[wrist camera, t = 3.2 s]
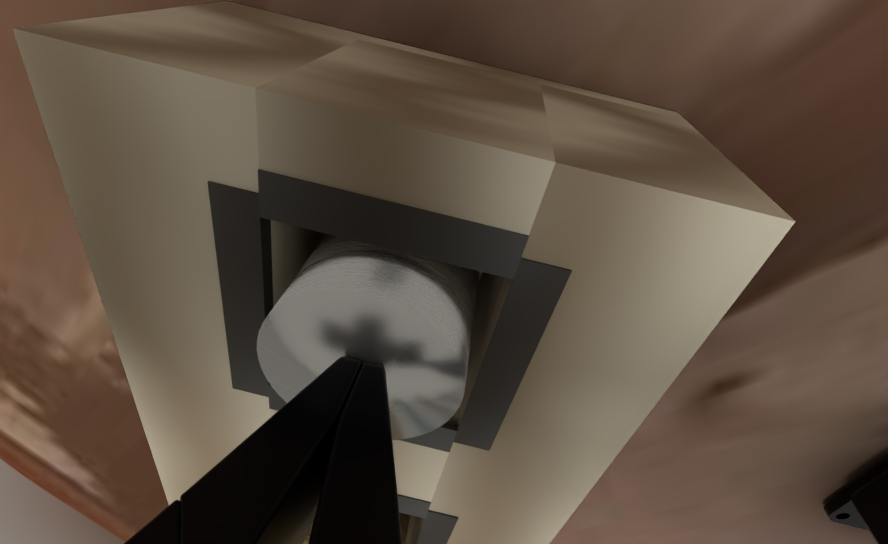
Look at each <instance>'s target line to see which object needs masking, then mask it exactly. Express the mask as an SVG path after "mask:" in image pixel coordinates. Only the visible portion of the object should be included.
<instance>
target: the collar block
mask: <svg viewBox="0 0 888 544" xmlns="http://www.w3.org/2000/svg"><path fill="white" fill-rule="evenodd" d="M12 29H13V32H14V35H15V38H16V41H17V44H18V47H19V50H20V53H21V56H22V59H23V62H24V66H25V69H26V72H27V75H28V78H29V81H30V84H31V87H32V90H33V93H34V96H35V99H36V102H37V105H38V108H39V111H40V114H41V117H42V120H43V123H44V126H45V129H46V132H47V135H48V138H49V142H50V145H51V148H52V151H53V154H54V157H55V160H56V163H57V166H58V169H59V172H60V175H61V178H62V181H63V184H64V187H65V190H66V193H67V196H68V199H69V202H70V205H71V208H72V211H73V214H74V218H75V221H76V224H77V227H78V230H79V233H80V236H81V239H82V242H83V245H84V248H85V251H86V254H87V257H88V260H89V263H90V266H91V269H92V272H93V275H94V278H95V281H96V284H97V287H98V290H99V294H100V297H101V300H102V303H103V306H104V309H105V312H106V315H107V318H108V321H109V324H110V327H111V330H112V333H113V336H114V339H115V342H116V345H117V348H118V351H119V354H120V357H121V360H122V363H123V366H124V370H125V373H126V376H127V379H128V382H129V385H130V388H131V391H132V394H133V397H134V400H135V403H136V406H137V409H138V412H139V415H140V418H141V421H142V424H143V427H144V430H145V433H146V436H147V439H148V442H149V446H150V449H151V452H152V455H153V458H154V461H155V464H156V467H157V470H158V473H159V476H160V479H161V482H162V485H163V488H164V491H165V494H166V497H167V500H168V503H169V505H170V504H171V503H172V502H174V501H175V500H179V501H180V497H181V495H182V494H183V493H184V492H185V491H187V490H188V489H189V488H190V487H191V486H192V485H194V484H195V483H196V482H197V481H198V480H199V479H200V478H202V477H203V476H204V475H205V474H206V473H207V472H208V471H210V470H211V469H212V468H213V467H214V466H215V465H217V464H218V463H219V462H220V461H221V460H222V459H223V458H225V457H226V456H227V455H228V454H229V453H230V452H231V451H233V450H234V449H235V448H236V447H237V446H238V445H240V444H241V443H242V442H243V441H244V440H245V439H246V438H248V437H249V436H250V435H251V434H252V433H253V432H254V431H256V430H257V429H258V428H259V427H260V426H261V425H263V424H264V423H265V422H266V421H267V420H268V419H269V418H271V417H272V416H273V415H274V414H275V413H276V412H278V411H279V410H280V409H281V408H282V407H283V406H284V405H286V404H287V402H285V401H284V400H283V399H282V398H281V397H280V396H279V395H278V393H277V392H276V391H275V390H274V389H273V388H272V386H271V385H270V383H269V382H268V380H267V379H266V377H265V375H264V373H263V371H262V369H261V366H260V363H259V360H258V354H257V338H258V334H259V330H260V328H261V326H262V323H263V321H264V320H265V319H266V317H267V316H268V314H269V313H270V312H271V310H272V309H273V307H274V306H275V305H276V303H277V302H278V300H279V299H280V298H281V296H282V295H283V293H284V292H285V291H286V289H287V288H288V286H289V285H290V283H291V282H292V281H293V279H294V278H295V276H296V275H297V274H298V272H299V271H300V269H301V268H302V267H303V265H304V264H305V262H306V261H307V260H308V258H309V257H310V255H311V254H312V252H313V251H314V250H315V248H316V247H317V245H318V244H319V243H320V241H321V240H322V238H323V237H324V236H325V234H330V235H334V236H338V237H342V238H346V239H350V240H354V241H358V242H362V243H366V244H371V245H375V246H379V247H383V248H387V249H391V250H395V251H399V252H403V253H407V254H411V255H415V256H419V257H423V258H428V259H432V260H436V261H440V262H444V263H448V264H452V265H456V266H460V267H464V268H468V269H472V270H476V271H479V279H478V287H477V295H476V303H475V312H474V320H473V328H472V336H471V344H470V352H469V360H468V368H467V377H466V385H465V392H464V396H463V400H462V402H461V404H460V406H459V408H458V410H457V411H456V412H455V414H454V415H453V416H452V417H451V418H450V419H449V420H448V421H447V422H446V423H444V424H443V425H442V426H440V427H439V428H437V429H435V430H433V431H431V432H429V433H426V434H423V435H421V436H417V437H413V438H408V439H400V440H392V442H393V452H394V463H395V473H396V483H397V493H398V503H399V513H404V514H408V515H411V516H410V521H409V526H408V532H407V537H406V542H405V544H550V542H551V541H552V540H553V538H554V537H555V536H556V534H557V533H558V532H559V531H560V529H561V528H562V527H563V525H564V524H565V523H566V521H567V520H568V519H569V517H570V516H571V515H572V514H573V512H574V511H575V510H576V508H577V507H578V506H579V504H580V503H581V502H582V500H583V499H584V498H585V497H586V495H587V494H588V493H589V491H590V490H591V489H592V487H593V486H594V485H595V483H596V482H597V481H598V480H599V478H600V477H601V476H602V474H603V473H604V472H605V470H606V469H607V468H608V466H609V465H610V464H611V463H612V461H613V460H614V459H615V457H616V456H617V455H618V453H619V452H620V451H621V449H622V448H623V447H624V446H625V444H626V443H627V442H628V440H629V439H630V438H631V436H632V435H633V434H634V432H635V431H636V430H637V429H638V427H639V426H640V425H641V423H642V422H643V421H644V419H645V418H646V417H647V415H648V414H649V413H650V412H651V410H652V409H653V408H654V406H655V405H656V404H657V402H658V401H659V400H660V398H661V397H662V396H663V394H664V393H665V392H666V391H667V389H668V388H669V387H670V385H671V384H672V383H673V381H674V380H675V379H676V377H677V376H678V375H679V374H680V372H681V371H682V370H683V368H684V367H685V366H686V364H687V363H688V362H689V360H690V359H691V358H692V357H693V355H694V354H695V353H696V351H697V350H698V349H699V347H700V346H701V345H702V343H703V342H704V341H705V340H706V338H707V337H708V336H709V334H710V333H711V332H712V330H713V329H714V328H715V326H716V325H717V324H718V323H719V321H720V320H721V319H722V317H723V316H724V315H725V313H726V312H727V311H728V309H729V308H730V307H731V306H732V304H733V303H734V302H735V300H736V299H737V298H738V296H739V295H740V294H741V292H742V291H743V290H744V289H745V287H746V286H747V285H748V283H749V282H750V281H751V279H752V278H753V277H754V275H755V274H756V273H757V272H758V270H759V269H760V268H761V266H762V265H763V264H764V262H765V261H766V260H767V258H768V257H769V256H770V255H771V253H772V252H773V251H774V249H775V248H776V247H777V245H778V244H779V243H780V241H781V240H782V239H783V238H784V236H785V235H786V234H787V232H788V231H789V230H790V228H791V227H792V226H793V224H794V223H795V221H794V220H793V219H792V218H791V217H790V216H789V215H788V214H787V213H786V212H785V211H784V210H782V209H781V208H780V207H779V206H778V205H777V204H776V203H775V202H774V201H773V200H772V199H771V198H770V197H768V196H767V195H766V194H765V193H764V192H763V191H762V190H761V189H760V188H759V187H758V186H757V185H755V184H754V183H753V182H752V181H751V180H750V179H749V178H748V177H747V176H746V175H745V174H744V173H743V172H741V171H740V170H739V169H738V168H737V167H736V166H735V165H734V164H733V163H732V162H731V161H730V160H728V159H727V158H726V157H725V156H724V155H723V154H722V153H721V152H720V151H719V150H718V149H717V148H715V147H714V146H713V145H712V144H711V143H710V142H709V141H708V140H707V139H706V138H705V137H704V136H703V135H701V134H700V133H699V132H698V131H697V130H696V129H695V128H694V127H693V126H692V125H691V124H690V123H688V122H687V121H686V120H685V119H684V118H683V117H682V116H681V115H680V114H679V113H677V112H673V111H669V110H665V109H661V108H657V107H653V106H649V105H645V104H641V103H637V102H633V101H629V100H625V99H621V98H617V97H613V96H609V95H605V94H601V93H597V92H593V91H589V90H585V89H581V88H577V87H573V86H569V85H565V84H561V83H557V82H552V81H548V80H544V79H540V78H536V77H532V76H528V75H524V74H520V73H516V72H512V71H508V70H504V69H500V68H496V67H492V66H488V65H484V64H480V63H476V62H472V61H468V60H464V59H460V58H456V57H452V56H448V55H444V54H440V53H436V52H432V51H428V50H423V49H419V48H415V47H411V46H407V45H403V44H399V43H395V42H391V41H387V40H383V39H379V38H375V37H371V36H367V35H363V34H359V33H355V32H351V31H347V30H343V29H339V28H335V27H331V26H327V25H323V24H319V23H315V22H311V21H307V20H303V19H299V18H294V17H290V16H286V15H282V14H278V13H274V12H270V11H266V10H262V9H258V8H254V7H250V6H246V5H242V4H238V3H234V2H230V1H222V2H214V3H206V4H198V5H190V6H182V7H174V8H167V9H159V10H151V11H143V12H135V13H127V14H119V15H111V16H103V17H95V18H88V19H80V20H72V21H64V22H56V23H48V24H40V25H32V26H24V27H17V28H12Z"/></svg>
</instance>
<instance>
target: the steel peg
mask: <svg viewBox="0 0 888 544" xmlns="http://www.w3.org/2000/svg"><path fill="white" fill-rule="evenodd" d="M478 279H479V271H476V270H472V269H468V268H464V267H460V266H456V265H452V264H448V263H444V262H440V261H436V260H432V259H428V258H423V257H419V256H415V255H411V254H407V253H403V252H399V251H395V250H391V249H387V248H383V247H379V246H375V245H371V244H366V243H362V242H358V241H354V240H350V239H346V238H342V237H338V236H334V235H330V234H325V236H324V237H323V238H322V240H321V241H320V243H319V244H318V245H317V247H316V248H315V250H314V251H313V252H312V254H311V255H310V257H309V258H308V260H307V261H306V262H305V264H304V265H303V267H302V268H301V269H300V271H299V272H298V274H297V275H296V276H295V278H294V279H293V281H292V282H291V283H290V285H289V286H288V288H287V289H286V291H285V292H284V293H283V295H282V296H281V298H280V299H279V300H278V302H277V303H276V305H275V306H274V307H273V309H272V310H271V312H270V313H269V314H268V316H267V317H266V319H265V320H264V321H263V323H262V326H261V328H260V330H259V334H258V338H257V354H258V360H259V363H260V366H261V369H262V371H263V373H264V375H265V377H266V379H267V380H268V382H269V383H270V385H271V386H272V388H273V389H274V390H275V391H276V392H277V393H278V395H279V396H280V397H281V398H282V399H283V400H284V401H285V402H287V403H288V402H289V401H290V400H291V399H292V398H294V397H295V396H296V395H297V394H298V393H299V392H301V391H302V390H303V389H304V388H305V387H306V386H307V385H309V384H310V383H311V382H312V381H313V380H314V379H315V378H317V377H318V376H319V375H320V374H321V373H322V372H324V371H325V370H326V369H327V368H328V367H329V366H330V365H332V364H333V363H334V362H335V361H336V360H337V359H339V358H340V357H343V356H346V357H350V358H354V359H358V360H361V361H362V363H364V362H370V363H375V364H379V365H382V366H384V368H385V372H386V382H387V392H388V402H389V412H390V422H391V432H392V440H400V439H408V438H413V437H417V436H421V435H423V434H426V433H429V432H431V431H433V430H435V429H437V428H439V427H440V426H442V425H443V424H444V423H446V422H447V421H448V420H449V419H450V418H451V417H452V416H453V415H454V414H455V412H456V411H457V410H458V408H459V406H460V404H461V402H462V400H463V396H464V392H465V385H466V377H467V368H468V360H469V352H470V344H471V336H472V328H473V320H474V312H475V303H476V295H477V287H478Z"/></svg>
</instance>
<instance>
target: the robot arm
mask: <svg viewBox="0 0 888 544" xmlns="http://www.w3.org/2000/svg"><path fill="white" fill-rule="evenodd" d="M824 510H825V512H826V513H827V515H828V517H829V519H830V520H832V521H834V522H838V523H842V524H846V525H850V526H854V527H859V528H863V529H867V530H870V532H871V534H872V535H873V537H874V538H875V540H876V542H877V543H878V544H888V461H887V462H886V463H884V464H883V465H882V466H880V467H879V468H877V469H876V470H874V471H873V472H872V473H870V474H869V475H867V476H866V477H864V478H863V479H862V480H860V481H859V482H857V483H856V484H855V485H853V486H852V487H850V488H849V489H847V490H846V491H845V492H843V493H842V494H840V495H839V496H837V497H836V498H835V499H833V500H832V501H830V502H829V503H828V504H826V505H825V506H824ZM314 517H315V518H314ZM313 520H314V522H313ZM312 522H313V526H312V531H311V535H310V539H309V543H308V544H403V543H402V533H401V523H400V513H399V503H398V493H397V483H396V473H395V463H394V452H393V442H392V432H391V422H390V412H389V402H388V392H387V382H386V372H385V368H384V366H382V365H379V364H375V363H370V362H364V363H362V361H361V360H358V359H354V358H350V357H346V356H343V357H340V358H339V359H337V360H336V361H335V362H334V363H333V364H332V365H330V366H329V367H328V368H327V369H326V370H325V371H324V372H322V373H321V374H320V375H319V376H318V377H317V378H315V379H314V380H313V381H312V382H311V383H310V384H309V385H307V386H306V387H305V388H304V389H303V390H302V391H301V392H299V393H298V394H297V395H296V396H295V397H294V398H292V399H291V400H290V401H289V402H288V403H287V404H286V405H284V406H283V407H282V408H281V409H280V410H279V411H278V412H276V413H275V414H274V415H273V416H272V417H271V418H269V419H268V420H267V421H266V422H265V423H264V424H263V425H261V426H260V427H259V428H258V429H257V430H256V431H254V432H253V433H252V434H251V435H250V436H249V437H248V438H246V439H245V440H244V441H243V442H242V443H241V444H240V445H238V446H237V447H236V448H235V449H234V450H233V451H231V452H230V453H229V454H228V455H227V456H226V457H225V458H223V459H222V460H221V461H220V462H219V463H218V464H217V465H215V466H214V467H213V468H212V469H211V470H210V471H208V472H207V473H206V474H205V475H204V476H203V477H202V478H200V479H199V480H198V481H197V482H196V483H195V484H194V485H192V486H191V487H190V488H189V489H188V490H187V491H185V492H184V493H183V494H182V495H181V497H180V501H179V500H175V501H174V502H172V503H171V504H170V505H169V506H168V507H167V508H166V509H164V510H163V511H162V512H161V513H160V514H159V515H158V516H156V517H155V518H154V519H153V520H152V521H151V522H149V523H148V524H147V525H146V526H145V527H143V528H142V529H141V530H140V531H139V532H137V533H136V534H135V535H134V536H133V537H131V538H130V539H129V540H128V541H127V542H125V543H124V544H303V542H304V540H305V538H306V535H307V533H308V531H309V529H310V526H311V524H312Z"/></svg>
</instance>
